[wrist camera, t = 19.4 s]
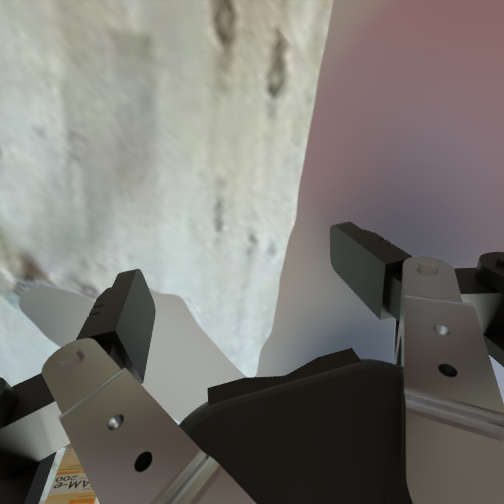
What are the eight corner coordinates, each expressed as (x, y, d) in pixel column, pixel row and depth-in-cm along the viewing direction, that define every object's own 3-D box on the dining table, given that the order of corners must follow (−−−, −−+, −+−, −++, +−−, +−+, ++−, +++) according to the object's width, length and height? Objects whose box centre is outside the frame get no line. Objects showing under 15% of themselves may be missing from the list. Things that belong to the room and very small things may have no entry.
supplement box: (113, 434, 59) (93, 511, 47) (112, 447, 60) (93, 525, 49) (69, 436, 56) (38, 518, 45) (70, 450, 58) (40, 532, 47)
